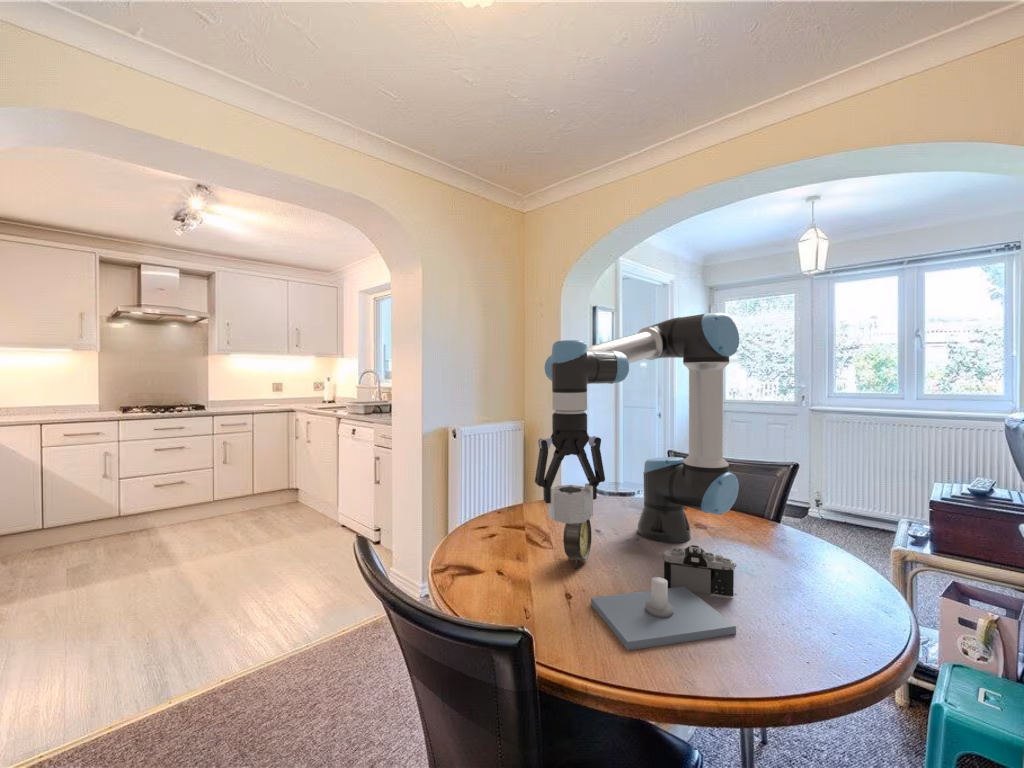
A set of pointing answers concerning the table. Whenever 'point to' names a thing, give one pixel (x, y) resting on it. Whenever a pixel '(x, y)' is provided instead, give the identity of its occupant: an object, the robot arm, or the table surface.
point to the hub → (572, 504)
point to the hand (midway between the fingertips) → (570, 515)
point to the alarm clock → (577, 541)
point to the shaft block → (660, 616)
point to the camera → (699, 571)
